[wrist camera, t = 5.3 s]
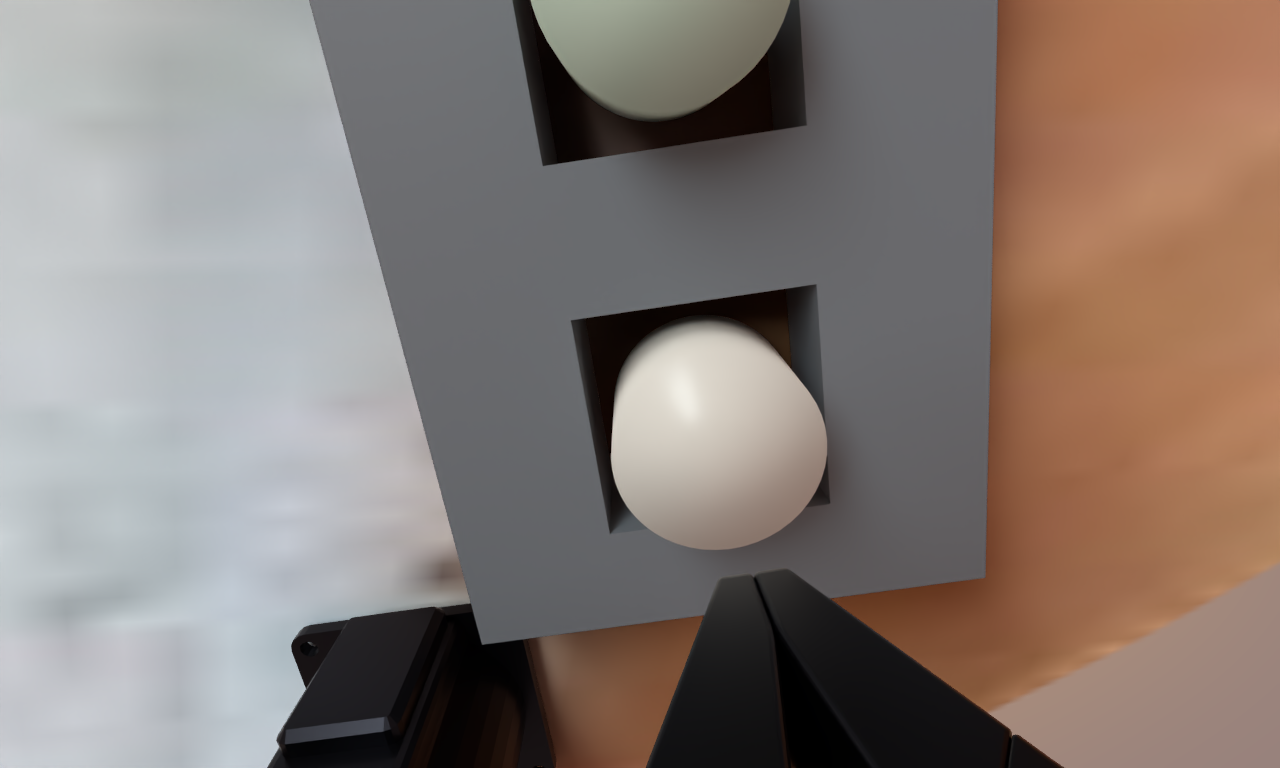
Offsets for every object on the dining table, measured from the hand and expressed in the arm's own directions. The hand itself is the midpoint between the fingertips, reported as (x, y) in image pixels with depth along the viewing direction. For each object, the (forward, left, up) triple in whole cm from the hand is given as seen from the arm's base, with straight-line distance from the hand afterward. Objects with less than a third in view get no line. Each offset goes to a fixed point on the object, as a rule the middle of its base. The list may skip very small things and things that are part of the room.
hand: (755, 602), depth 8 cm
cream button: (0, 0, -7) cm, 7 cm away
